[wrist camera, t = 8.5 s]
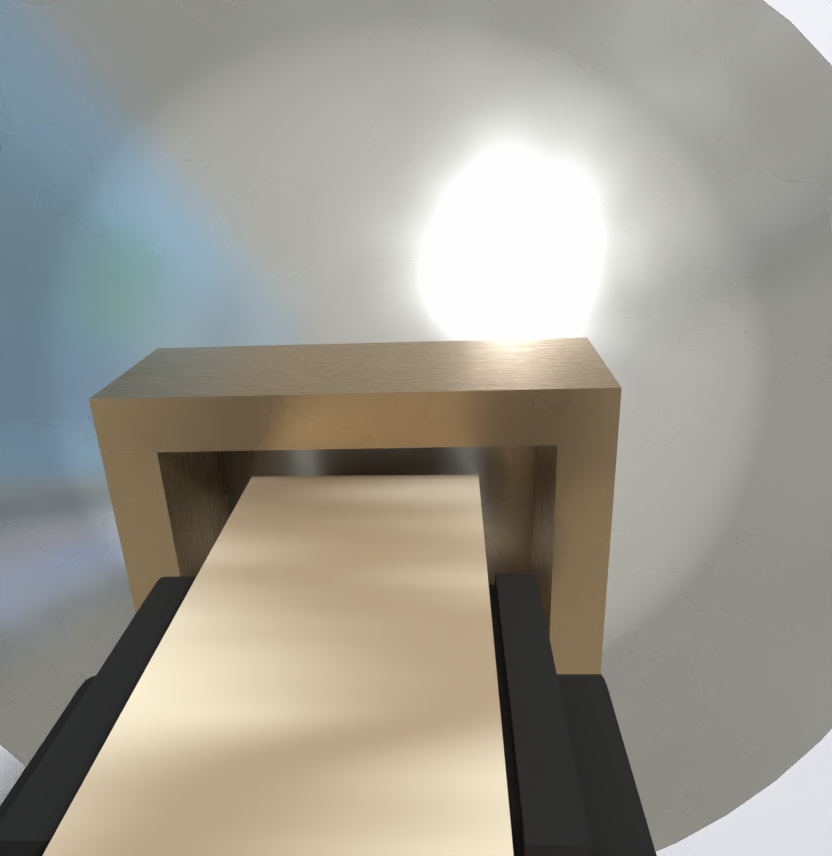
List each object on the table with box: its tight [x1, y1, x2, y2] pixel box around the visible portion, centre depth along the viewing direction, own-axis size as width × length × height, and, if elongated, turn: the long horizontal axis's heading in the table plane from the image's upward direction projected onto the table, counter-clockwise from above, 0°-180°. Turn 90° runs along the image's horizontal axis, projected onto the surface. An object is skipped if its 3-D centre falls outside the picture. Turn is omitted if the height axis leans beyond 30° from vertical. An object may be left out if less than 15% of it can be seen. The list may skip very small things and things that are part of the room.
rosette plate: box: [0, 0, 832, 852], centre depth 13 cm, size 20×20×4 cm
